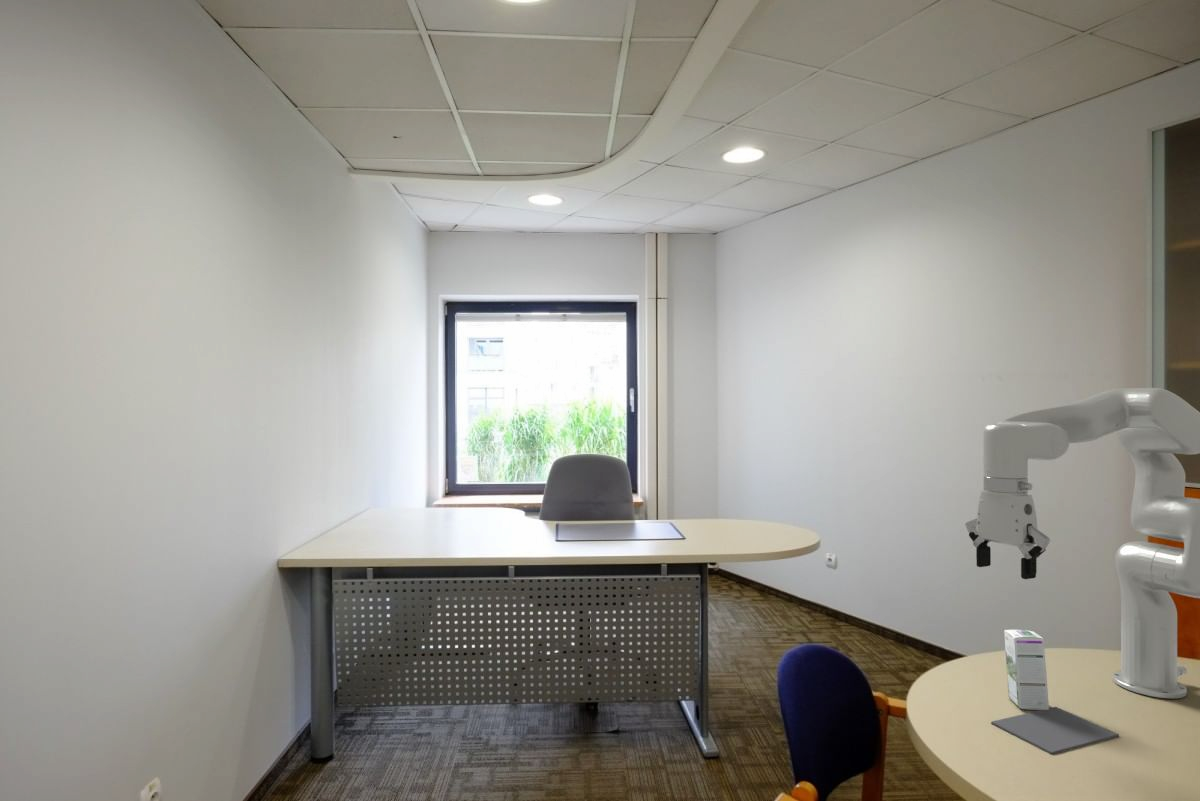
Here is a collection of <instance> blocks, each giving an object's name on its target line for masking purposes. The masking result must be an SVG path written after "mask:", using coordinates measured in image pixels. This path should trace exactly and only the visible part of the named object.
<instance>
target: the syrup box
mask: <svg viewBox="0 0 1200 801" xmlns="http://www.w3.org/2000/svg"><path fill="white" fill-rule="evenodd" d="M1003 632H1004V648H1005V659H1006V660H1005V661H1006V663H1005V664H1006V676H1007V679H1006V680H1007V692H1008V693H1007V694H1008V699H1009V700H1010V701H1012V703H1013V704H1015V706H1016V707H1017V708H1018V709H1023V710H1031V711H1032V710H1036V711H1039V710H1049V708H1050V705H1049V690H1048V677H1047V665H1046V664H1047V662H1046V653H1045V639H1044V637H1042V636H1040V635H1039V634H1038V633H1036V632H1035V631H1033V630H1032V629H1031V630H1029V629H1020V628H1019V629H1004V631H1003Z"/></svg>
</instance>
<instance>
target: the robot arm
mask: <svg viewBox="0 0 1200 801" xmlns="http://www.w3.org/2000/svg"><path fill="white" fill-rule="evenodd" d="M1113 433H1115V436H1116V438H1117V440H1118V442H1119V443H1120V445H1121V446H1123V448H1124V449H1125V451H1126V452H1127V453H1128V456H1130V458H1131V460H1132V462H1133V466H1134V470H1135V478H1134V479H1135V480H1134V486H1133V494H1132V501H1131V508H1130V509H1131V510H1130V525H1131V526H1132V528H1133V529H1134V530H1135V531H1136V532H1138V533H1139V534H1142V535H1144V536H1145V535H1146V536H1149V537H1153V538H1159V539H1164V540H1170V541H1174V542H1175V541H1176V542H1181V543H1183V544H1184V545H1183V548H1181V547H1176V546H1175V547H1174V546H1170V545H1165V544H1161V543H1160V544H1159V543H1155V542H1149V541H1140V540H1139V541H1138V540H1135V541H1128V542H1126V543H1124V544H1122V545H1120V546H1119V548H1118V549H1117V551H1116V552H1115V557H1114V558H1115V559H1114V561H1115V567H1116V568H1115V569H1116V574H1117V576H1118V581H1119V585H1120V586H1119V588H1120V603H1121V604H1120V605H1121V606H1120V607H1121V608H1120V609H1121V611H1120V612H1121V613H1120V619H1121V620H1120V639H1121V641H1120V646H1121V649H1120V654H1121V656H1120V657H1121V658H1120V661H1121V663H1120V666H1121V667H1120V670H1116V671H1114V672H1112V681H1113V682H1114V683H1115V684H1117V685H1118V686H1120V687H1122V688H1124V689H1125V690H1128V691H1130V692H1134V693H1137V694H1139V695H1145V696H1148V697H1151V698H1152V697H1153V698H1154V697H1155V698H1159V699H1169V700H1170V699H1171V700H1173V699H1182V698H1184V697H1186V696H1187V693H1188V690H1187V687H1186V686H1185V685H1184V684H1183V683H1180V682H1179V681H1178V678H1179V676H1182V675H1186V674H1187V673H1188V670H1187V668H1186V667H1185V666H1184V665H1182V664H1179V665H1178V611H1177V607H1176V603H1175V602H1174V600H1173V598H1172V596H1171V595H1170V593H1171V594H1177V595H1181V596H1185V597H1190V598H1194V599H1195V598H1196V599H1200V498H1194V497H1185V488H1186V472H1185V469H1184V466H1183V465H1182V463H1181V462H1180V461H1179V459H1178V458H1177V457H1176V455H1174V454H1178V455H1198V454H1200V411H1199V410H1197V409H1196V408H1195V407H1194V406H1192V405H1191V404H1190V403H1189V402H1188V401H1186V400H1185V399H1183V398H1182V397H1181V396H1179V395H1177V394H1176V393H1174V392H1172V391H1169V390H1167V389H1164V388H1161V387H1127V388H1126V387H1125V388H1124V387H1123V388H1122V387H1121V388H1112V389H1109V390H1108V389H1107V390H1106V391H1103V392H1099V393H1097V394H1095V395H1091V396H1089V397H1087V398H1083V399H1081V400H1078V401H1074V402H1072V403H1067V404H1061V405H1056V406H1052V407H1048V408H1042V409H1039V410H1033V411H1028V412H1024V413H1020V414H1017V415H1014V416H1011V417H1008V418H1005V419H1002V420H1001V421H999V422H997V423H990V424H987V425H986V426H985V427H984V429H983V436H982V437H983V443H982V444H983V456H982V457H983V458H982V459H983V460H982V462H983V490H981V491H980V495H979V501H978V506H977V507H978V508H977V515H976V516H977V518H974V519H971V520H969V521H967V522H965V524H964V525H965V527H966V530H967V532H968V536H969V538H970V539H971V541H972V544H973V546H974V547H975V548H976V555H975V557H976V567H978V568H986V567H991V563H992V562H991V558H992V557H991V556H992V555H991V553H992V552H991V550H992V549H991V546H989V544H990V543H991V542H992V543H993V542H994V543H998V544H1002V545H1006V546H1012V547H1017V548H1018V549H1019V551H1020V553H1021V554H1022V555H1023V557H1021V559H1020V577H1021V578H1022V579H1023V580H1031V579H1036V577H1037V573H1038V571H1037V570H1038V569H1037V564H1038V563H1037V560H1038V558H1040V556H1041V555H1042V554H1043V553H1045V552H1046V550H1047V549H1046V548H1047V547H1048V546H1049V544H1050V542H1051V539H1050V537H1048V536H1047V535H1046V534H1044V533H1043V532H1042V531H1040V530H1039V529H1038V522H1037V512H1036V506H1035V502H1034V498H1033V496H1032V494H1028V493H1029V492H1028V491H1032V489H1033V484H1032V483H1031V482H1028V480H1029V478H1028V475H1029V474H1028V472H1029V470H1028V469H1029V468H1028V467H1029V464H1028V463H1029V462H1028V460H1036V461H1052V460H1056V459H1058V458H1061V457H1062V456H1064V455H1065V454H1066V453H1067V451H1068V449H1069V447H1070V444H1080V443H1088V442H1092V441H1095V440H1098V439H1101V438H1102V437H1103V438H1104V437H1105V436H1108V435H1110V434H1113Z"/></svg>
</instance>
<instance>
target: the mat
mask: <svg viewBox="0 0 1200 801" xmlns="http://www.w3.org/2000/svg"><path fill="white" fill-rule="evenodd" d="M990 724H991V725H993V726H994V727H996V728H999V730H1000V729H1001V730H1002V731H1005V732H1007V733H1009V734H1010V735H1012V736H1014V737H1017V738H1018V739H1021V740H1022V741H1024V742H1026V743H1028V744H1030V745H1032V746H1035V747H1036V748H1038V749H1039V750H1042V751H1044V752H1046V753H1048V754H1050V755H1055V754H1058V753H1062V752H1067V751H1069V750H1073V749H1077V748H1080V747H1085V746H1088V745H1092V744H1095V743H1099V742H1102V741H1107V740H1110V739H1115V738H1118V737H1120V734H1119V733H1116V732H1115V731H1112V730H1109V729H1108V728H1105V727H1103V726H1101V725H1099V724H1097V723H1094V722H1092V721H1090V720H1087V719H1085V718H1083V717H1081V716H1079V715H1076V714H1073V713H1071V712H1069V711H1067V710H1065V709H1062V708H1060V707H1058V706H1051V707H1049V710H1036V711H1032V712H1026V713H1023V714H1018V715H1015V716H1010V717H1006V718H1005V717H1004V718H1002V719H997V720H992V721H991V722H990Z"/></svg>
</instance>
